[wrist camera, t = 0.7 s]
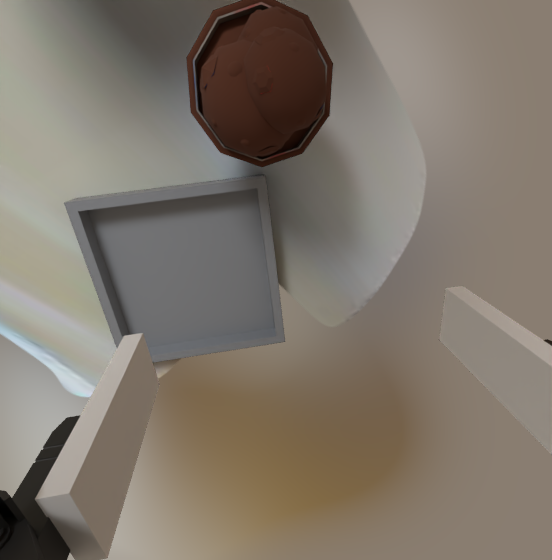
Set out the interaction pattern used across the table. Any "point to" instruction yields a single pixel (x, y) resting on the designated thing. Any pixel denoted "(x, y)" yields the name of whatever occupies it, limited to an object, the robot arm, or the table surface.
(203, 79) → the ice cream bowl
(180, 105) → the table surface
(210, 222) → the tray
